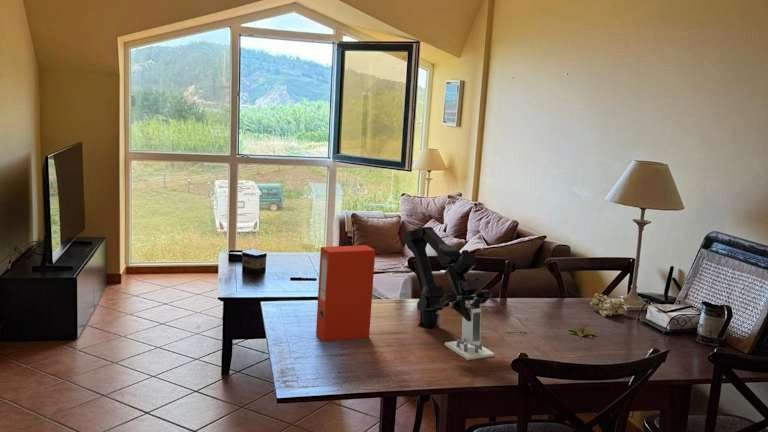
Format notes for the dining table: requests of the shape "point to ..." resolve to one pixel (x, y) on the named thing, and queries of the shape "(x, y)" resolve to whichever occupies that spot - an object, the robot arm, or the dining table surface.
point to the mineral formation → (607, 305)
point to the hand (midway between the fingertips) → (474, 320)
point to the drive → (472, 326)
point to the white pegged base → (469, 349)
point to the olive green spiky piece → (582, 331)
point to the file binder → (345, 292)
